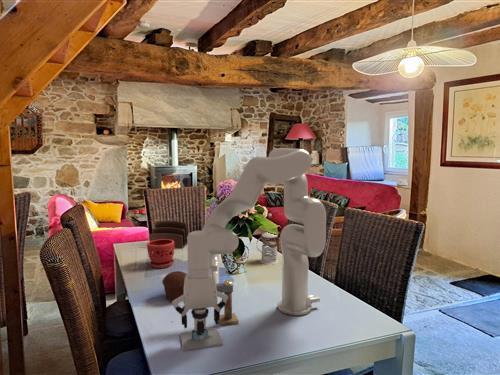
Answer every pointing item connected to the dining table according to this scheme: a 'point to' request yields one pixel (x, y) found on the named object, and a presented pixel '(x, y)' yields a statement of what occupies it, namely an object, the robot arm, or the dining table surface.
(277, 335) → the dining table surface
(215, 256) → the water bottle
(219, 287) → the steel strap
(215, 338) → the rubber mat
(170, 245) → the plant pot
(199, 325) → the push button
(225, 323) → the post
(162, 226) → the letter holder
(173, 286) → the muffin
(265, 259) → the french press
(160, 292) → the dining table surface
